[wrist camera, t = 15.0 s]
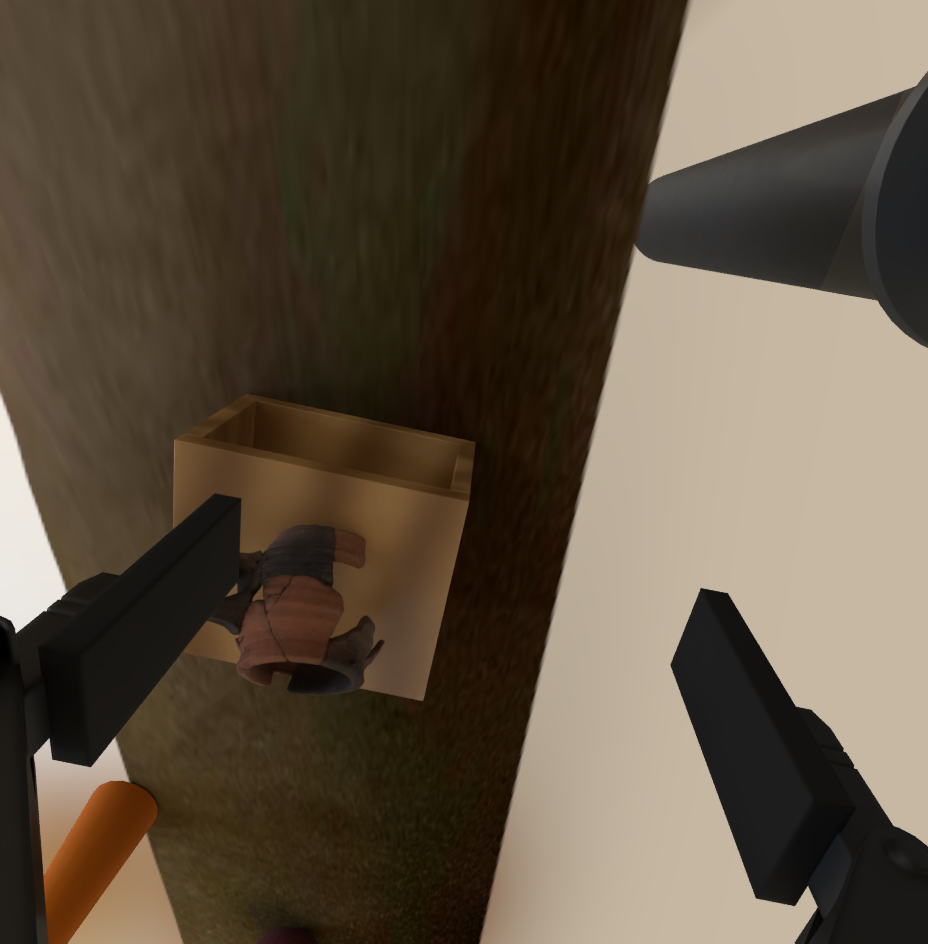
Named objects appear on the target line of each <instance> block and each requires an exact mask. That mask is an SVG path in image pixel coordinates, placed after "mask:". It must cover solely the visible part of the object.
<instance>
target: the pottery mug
mask: <svg viewBox="0 0 928 944" xmlns="http://www.w3.org/2000/svg"><path fill="white" fill-rule="evenodd" d="M365 543H366V541H365V539H364V538H363V537H360V536H359V535H357V534H355V533H352V532H349V531H347V530H342V529H338V528H333V527H329V526H320V525H317V524H314V525H297V526H293V527H291V528H288V529H285V530H283V531H281V532H280V533H279V534H278V535H277V537H276V539H275V540H274V541H273V542H272V543H271V544H270V545H269V547H268V548H267V550H265V551H264V552H263V553H262V552H261V550H258V551H256V552H253V553H242V552H240V559H239V581H238V582H237V593H236V594H233V595H231V596H228V597H225V598H224V600H223V601H222V602H221V604H220V605H219V606H218V607H217V609H216V610H215V611H214V612H213V614H212V615H211V616H210V617H209V619H208V620H207V621H209V622H212V623H215V624H218V625H221V626H223V627H225V628H226V629H227V630H228V631H229V632H230V633H231V634H232V635H238V634H239V638H235V642H236V644H237V647H238V649H239V650H240V651H241V655H240V658H239V661H238V662H237V671H238V673H239V674H240V675H241V676H242V677H243V678H245V679H246V680H249V681H250V682H253V683H255V684H257V685H260V686H264V687H269V686H270V684H271V680H272V676H273V673H276V674H280V675H290V676H292V678H291V680H290V682H289V685H288V687H287V689H286V690H287V692H289V693H294V694H304V695H333V694H339V693H346V692H351V691H353V690H356V689H358V688H360V687H361V686H362V685H363V683H364V670H365V669H366V667H367V666H368V665H370V664H371V663H372V662H373V660H374V659H375V658H376V657H377V655H378V654H379V653H380V651H381V649H382V647H383V645H384V643H385V641H384V640H379V641H378V642H377V644H376V645H375V647H374V648H373V649H371V648H372V646H373V634H374V632H375V624H374V623H373V621H372V620H371V618H370V617H368V616H366V615H365V616H363V617H362V618H361V619H360V621H359V622H358V624H357V626H356V627H354V628H352V629H351V630H349V631H348V632H346V633H344V634H342V635H339V636H336V637H333V638H330V637H331V635H332V634H333V632H334V630H335V627H336V625H337V623H338V622H339V619H340V617H341V615H342V614H343V612H344V602H343V598H342V596H341V594H340V593H338V592H337V591H336V590H335V589H333V588H332V586H333V562H337V563H344V564H348V565H350V566H353V567H356V568H358V569H360V568H362V567H363V566H364V565H365V560H366V557H365ZM261 587H263V598H264V599H262V600H255V601H252V599H253V597H254V596H255V594H256V593H257V592H258V591H259V589H260V588H261Z"/></svg>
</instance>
